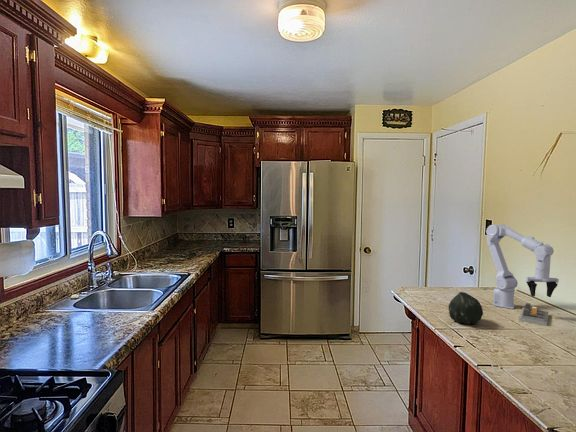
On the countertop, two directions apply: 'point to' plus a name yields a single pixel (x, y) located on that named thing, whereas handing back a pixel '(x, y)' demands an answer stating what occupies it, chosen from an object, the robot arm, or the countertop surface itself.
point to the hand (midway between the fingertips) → (540, 296)
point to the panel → (535, 317)
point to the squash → (465, 309)
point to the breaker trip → (534, 310)
